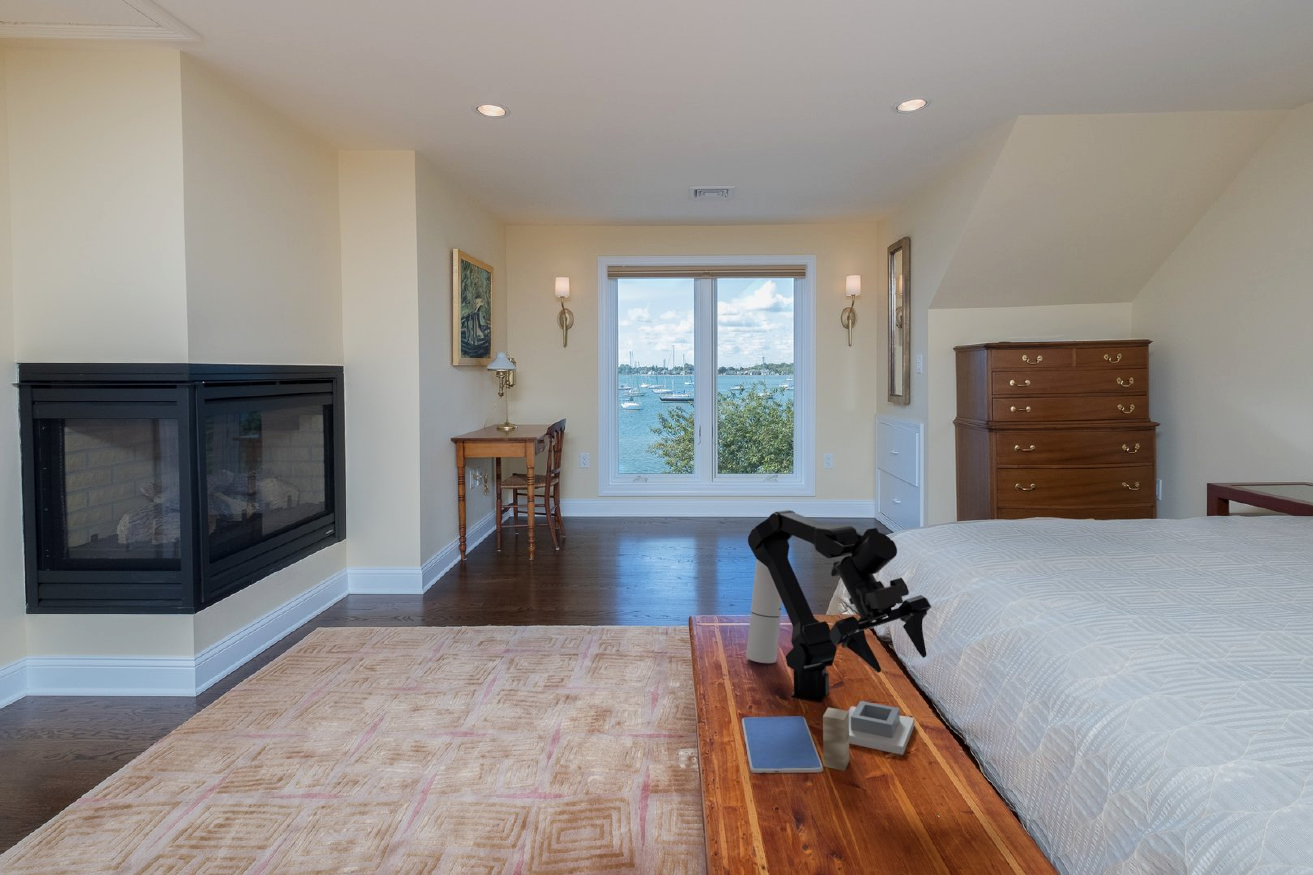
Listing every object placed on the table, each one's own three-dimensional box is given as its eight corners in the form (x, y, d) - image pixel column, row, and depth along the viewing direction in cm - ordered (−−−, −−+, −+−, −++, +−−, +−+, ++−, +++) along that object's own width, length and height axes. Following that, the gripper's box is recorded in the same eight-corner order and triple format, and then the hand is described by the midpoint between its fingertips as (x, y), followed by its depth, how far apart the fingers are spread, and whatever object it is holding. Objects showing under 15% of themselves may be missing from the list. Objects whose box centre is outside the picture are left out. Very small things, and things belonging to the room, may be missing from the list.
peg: (823, 766, 124) (823, 715, 123) (828, 756, 127) (828, 707, 126) (844, 770, 122) (844, 719, 121) (849, 760, 125) (848, 711, 125)
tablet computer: (824, 775, 122) (824, 767, 122) (750, 776, 122) (750, 768, 122) (804, 721, 141) (804, 715, 141) (741, 722, 142) (740, 716, 142)
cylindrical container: (780, 659, 172) (791, 556, 173) (769, 665, 166) (781, 558, 167) (752, 652, 176) (763, 551, 177) (741, 657, 170) (752, 552, 170)
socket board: (835, 740, 132) (835, 719, 132) (851, 713, 143) (851, 693, 143) (902, 754, 127) (902, 733, 126) (914, 725, 137) (914, 705, 137)
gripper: (828, 580, 127) (870, 664, 118) (919, 554, 131) (965, 633, 122) (813, 605, 136) (851, 685, 127) (899, 579, 140) (940, 654, 132)
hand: (902, 664), depth 127 cm, fingers open, 9 cm apart
